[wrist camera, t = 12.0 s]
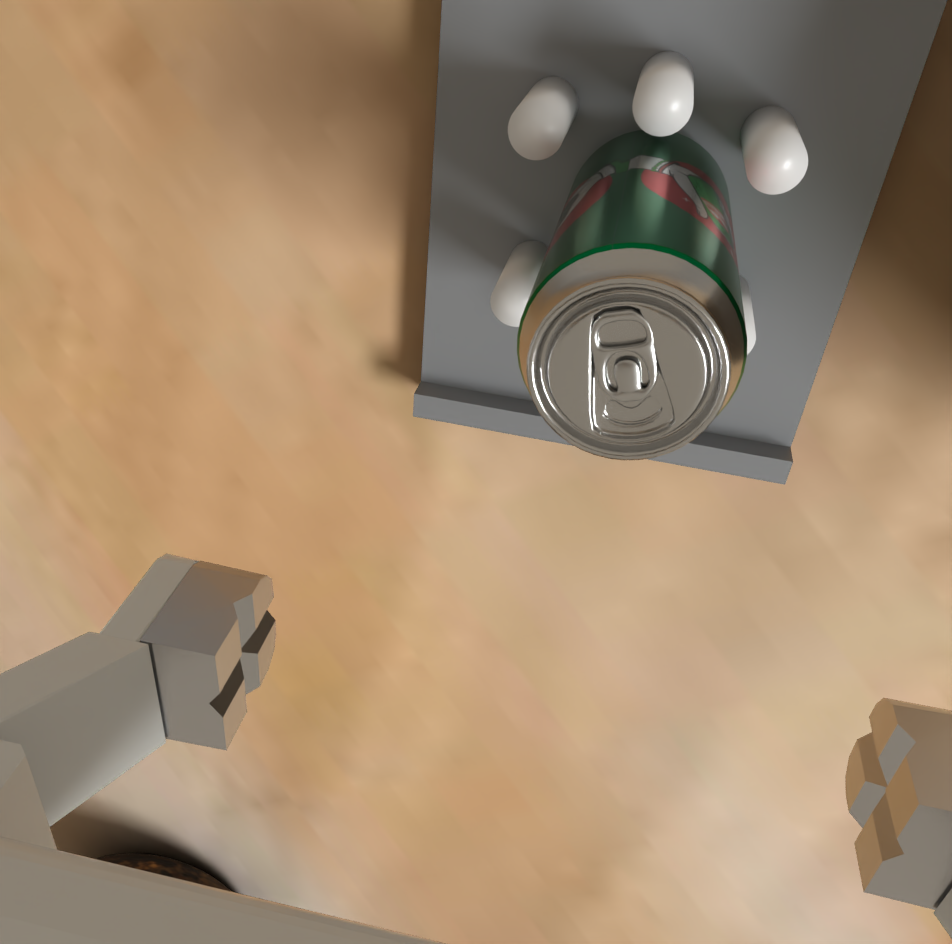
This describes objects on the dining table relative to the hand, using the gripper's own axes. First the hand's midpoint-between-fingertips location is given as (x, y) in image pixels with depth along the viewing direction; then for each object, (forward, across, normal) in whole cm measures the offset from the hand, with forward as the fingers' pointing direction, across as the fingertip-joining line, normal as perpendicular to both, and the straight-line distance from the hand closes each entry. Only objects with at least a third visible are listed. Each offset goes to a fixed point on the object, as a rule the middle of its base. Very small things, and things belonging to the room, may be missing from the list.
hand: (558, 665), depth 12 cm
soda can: (+21, +1, 0) cm, 21 cm away
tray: (+22, 0, 0) cm, 22 cm away
